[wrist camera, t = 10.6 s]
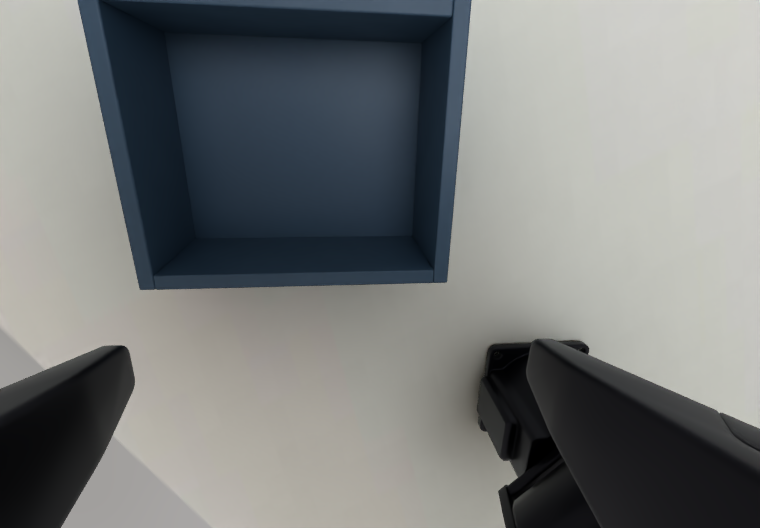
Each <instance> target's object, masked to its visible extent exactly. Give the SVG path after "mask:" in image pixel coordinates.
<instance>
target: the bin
mask: <svg viewBox="0 0 760 528" xmlns="http://www.w3.org/2000/svg"><path fill="white" fill-rule="evenodd" d="M78 5H79V10H80V14H81V19H82V23H83V28H84V33H85V37H86V42H87V47H88V51H89V56H90V61H91V65H92V70H93V75H94V79H95V84H96V88H97V93H98V98H99V102H100V107H101V112H102V116H103V121H104V126H105V130H106V135H107V139H108V144H109V149H110V153H111V158H112V163H113V167H114V172H115V177H116V181H117V186H118V190H119V195H120V200H121V204H122V209H123V214H124V218H125V223H126V228H127V232H128V237H129V241H130V246H131V251H132V255H133V260H134V265H135V269H136V274H137V279H138V283H139V288H140V290H154V289H157V290H163V289H203V288H244V287H284V286H325V285H365V284H406V283H433V282H434V283H445V282H447V276H448V264H449V253H450V241H451V230H452V218H453V207H454V195H455V184H456V172H457V161H458V149H459V138H460V126H461V115H462V103H463V92H464V80H465V69H466V57H467V46H468V34H469V23H470V11H471V0H78Z"/></svg>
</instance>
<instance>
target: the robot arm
mask: <svg viewBox="0 0 760 528" xmlns="http://www.w3.org/2000/svg"><path fill="white" fill-rule="evenodd" d="M580 348H581V350H579V349H580ZM578 350H579V351H578ZM496 352H499V353H498V354H497V355H494V354H495V353H496ZM588 353H589V348H588V346H587V345H586V344H585V343H583V342H582V341H572V342H557V341H555V340H552V339H535V340H534V341H533V342H532V343H525V344H501V345H493V346H491V347H490V348H489V350H488V353H487V360H486V368H485V375H484V376H483V378H482V379H481V382H480V390H479V397H478V405H477V411H478V413H479V419H478V424H479V426H480V428H481V430H482V431H486V432H488V434H489V436H490V438H491V440H492V442H493V445H494V447H495V449H496V451H497V453H498V455H499V457H500V458H501V459H502V460H503V461H508V460H509V461H510V463H511V465H512V466H513V468H514V470H515V472H516V474H517V476H518V478H517V479H516V480H514V481H513V482H512V483H511V484H509V485H505V486H504V487H503V488H501V489H500V490H499V491H498V493H499V498H500V502H501V507H502V512H503V517H504V521H505V526H506V528H760V429H759V428H757V427H754V426H752V425H749V424H747V423H745V422H742V421H740V420H738V419H735V418H733V417H731V416H728V415H726V414H724V413H718V411H716V410H714V409H712V408H710V407H707V406H705V405H703V404H701V403H698V402H696V401H694V400H691V399H689V398H687V397H684V396H682V395H680V394H677V393H675V392H673V391H671V390H668V389H666V388H664V387H661V386H659V385H657V384H654V383H652V382H650V381H647V380H645V379H643V378H640V377H638V376H636V375H634V374H631V373H629V372H627V371H624V370H622V369H620V368H617V367H615V366H613V365H610V364H608V363H606V362H603V361H601V360H599V359H597V358H594V357H592V356H590V355H588ZM134 385H135V377H134V372H133V367H132V362H131V358H130V353H129V350H128V349H127V348H126V347H125V346H103V347H100V348H98V349H95V350H93V351H90V352H88V353H86V354H83V355H81V356H78V357H76V358H74V359H71V360H69V361H66V362H64V363H62V364H59V365H57V366H54V367H52V368H50V369H47V370H45V371H42V372H40V373H38V374H35V375H33V376H30V377H28V378H25V379H23V380H21V381H18V382H16V383H13V384H11V385H9V386H6V387H4V388H1V389H0V528H61V526H62V525H63V523H64V521H65V520H66V518H67V516H68V514H69V513H70V511H71V509H72V508H73V506H74V504H75V503H76V501H77V499H78V497H79V496H80V494H81V492H82V491H83V489H84V487H85V485H86V484H87V482H88V480H89V479H90V477H91V475H92V474H93V472H94V470H95V469H96V467H97V465H98V463H99V462H100V460H101V458H102V456H103V454H104V452H105V450H106V448H107V446H108V444H109V442H110V440H111V438H112V435H113V433H114V431H115V429H116V427H117V424H118V422H119V420H120V418H121V416H122V414H123V411H124V409H125V407H126V405H127V403H128V400H129V398H130V396H131V394H132V392H133V389H134Z"/></svg>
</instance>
